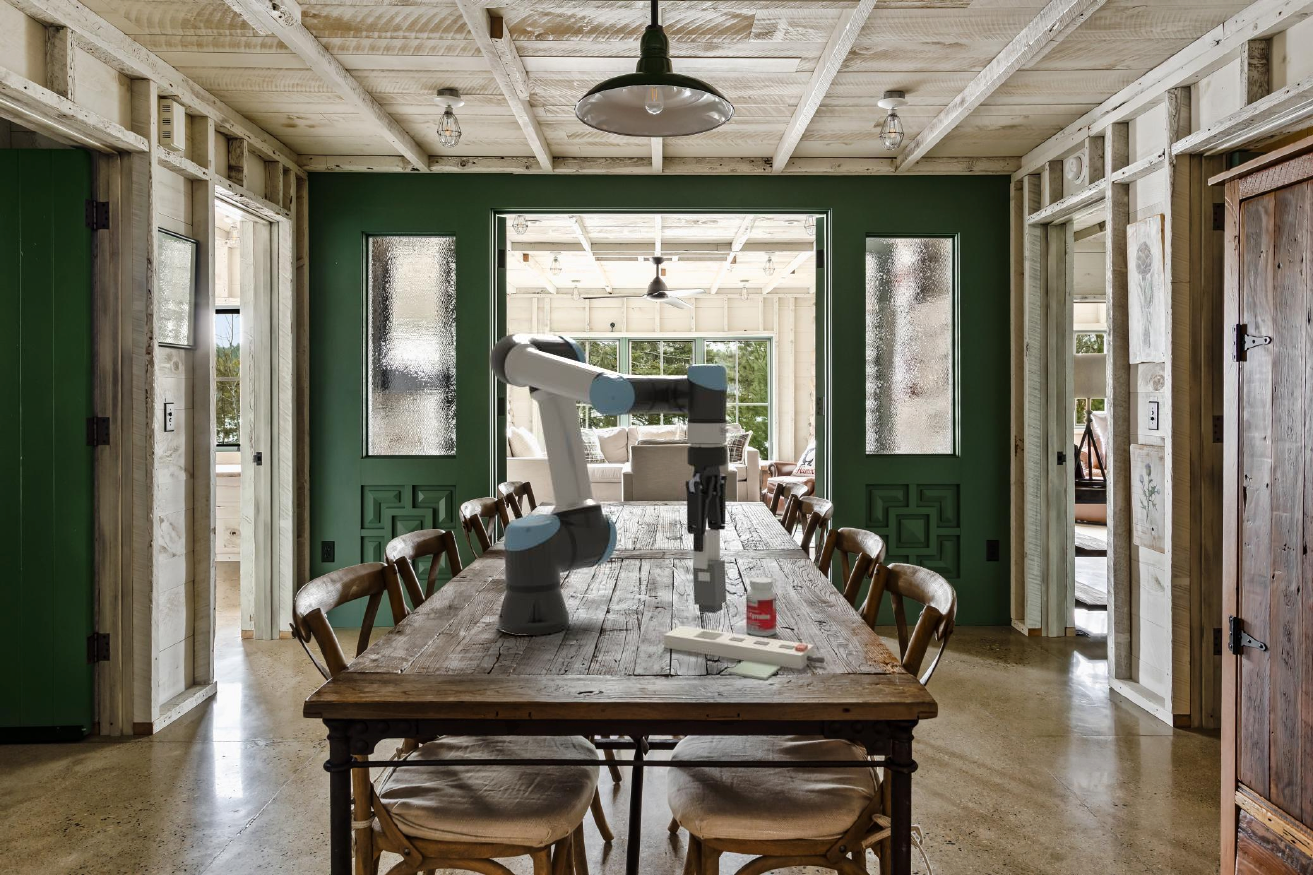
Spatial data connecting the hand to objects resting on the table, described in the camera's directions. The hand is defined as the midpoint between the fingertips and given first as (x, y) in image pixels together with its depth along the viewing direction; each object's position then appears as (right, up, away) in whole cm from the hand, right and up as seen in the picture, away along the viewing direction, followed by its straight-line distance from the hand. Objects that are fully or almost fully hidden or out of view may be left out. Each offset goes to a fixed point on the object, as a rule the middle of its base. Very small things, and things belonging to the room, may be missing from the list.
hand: (706, 565), depth 158 cm
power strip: (+7, -16, -3) cm, 18 cm away
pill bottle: (+12, -16, +11) cm, 23 cm away
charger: (+1, -9, 0) cm, 9 cm away
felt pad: (+8, -17, -13) cm, 23 cm away
